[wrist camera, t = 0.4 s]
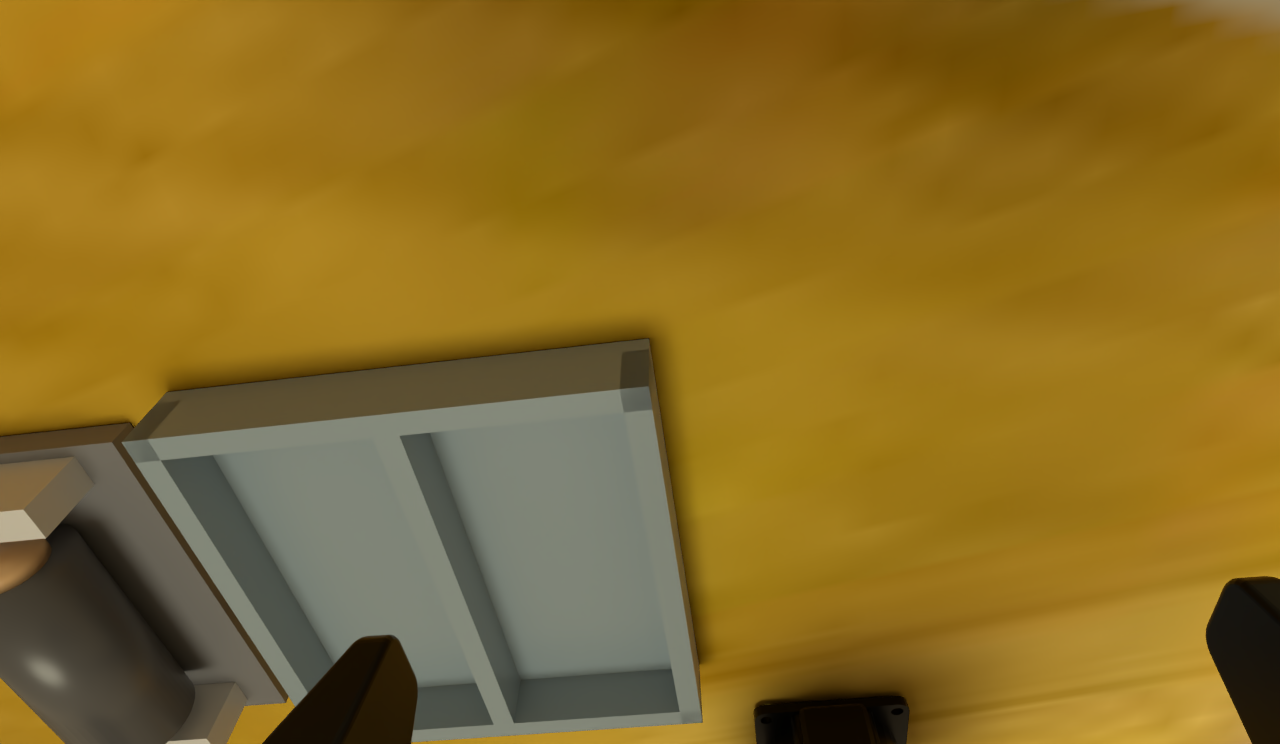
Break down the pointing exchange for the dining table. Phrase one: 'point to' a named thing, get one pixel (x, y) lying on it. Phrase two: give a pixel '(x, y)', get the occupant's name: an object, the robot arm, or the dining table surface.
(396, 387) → the cell tray
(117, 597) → the battery cell
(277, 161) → the dining table surface
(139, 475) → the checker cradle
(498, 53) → the dining table surface
